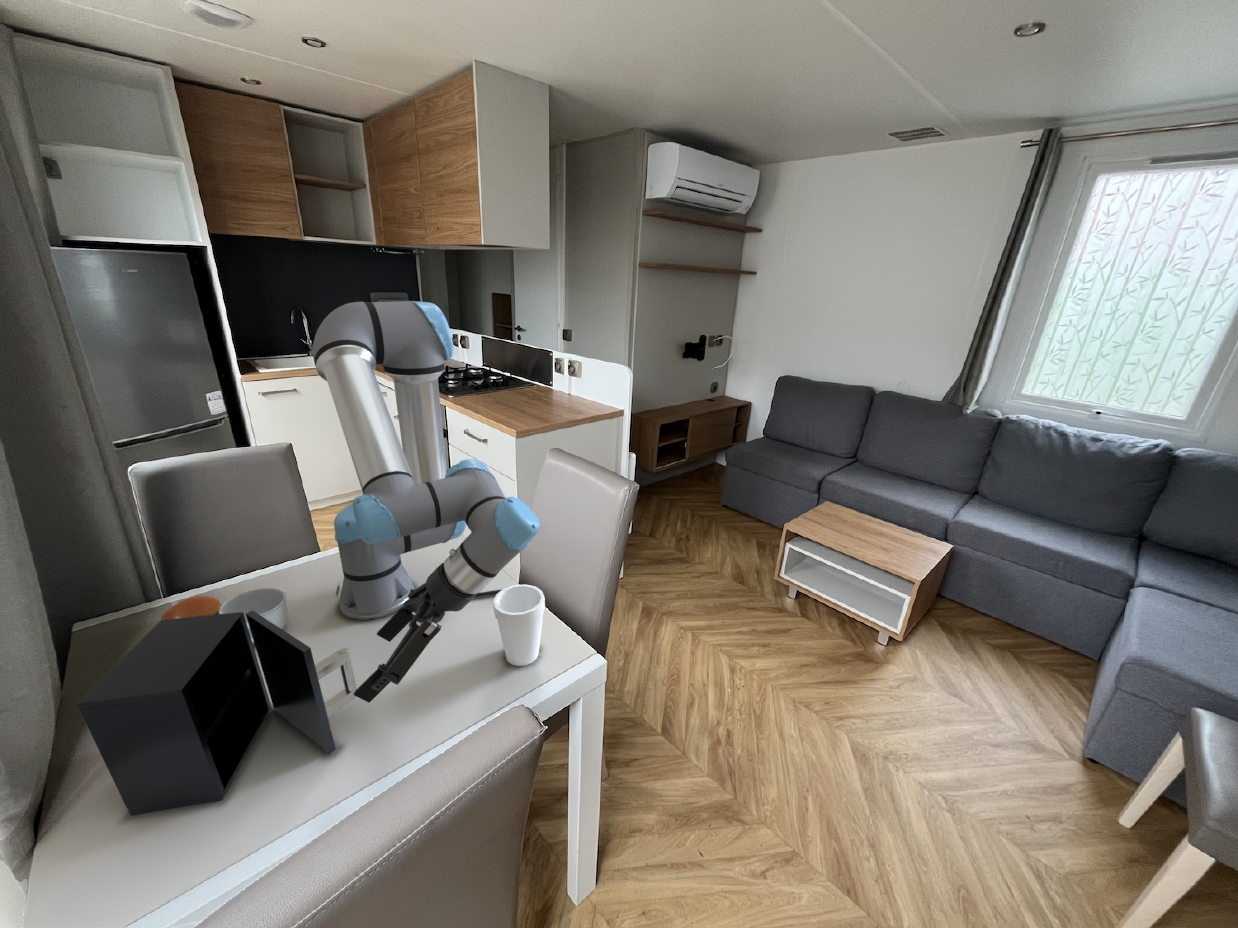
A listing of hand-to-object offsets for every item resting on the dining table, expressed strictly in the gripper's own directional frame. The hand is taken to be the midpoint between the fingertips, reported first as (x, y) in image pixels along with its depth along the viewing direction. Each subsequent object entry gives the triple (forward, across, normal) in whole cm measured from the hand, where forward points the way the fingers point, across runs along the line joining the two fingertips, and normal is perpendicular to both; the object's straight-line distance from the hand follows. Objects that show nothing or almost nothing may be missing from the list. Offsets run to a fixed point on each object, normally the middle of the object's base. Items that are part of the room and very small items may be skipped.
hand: (373, 664), depth 81 cm
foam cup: (-10, -9, +24) cm, 27 cm away
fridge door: (+13, 0, 0) cm, 13 cm away
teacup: (+27, -23, -13) cm, 38 cm away
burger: (+37, -30, -24) cm, 54 cm away
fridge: (+23, +5, -10) cm, 26 cm away
